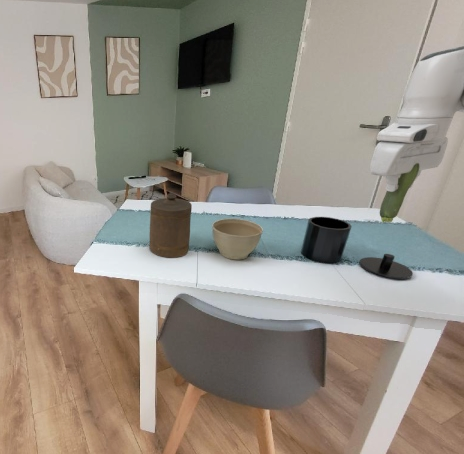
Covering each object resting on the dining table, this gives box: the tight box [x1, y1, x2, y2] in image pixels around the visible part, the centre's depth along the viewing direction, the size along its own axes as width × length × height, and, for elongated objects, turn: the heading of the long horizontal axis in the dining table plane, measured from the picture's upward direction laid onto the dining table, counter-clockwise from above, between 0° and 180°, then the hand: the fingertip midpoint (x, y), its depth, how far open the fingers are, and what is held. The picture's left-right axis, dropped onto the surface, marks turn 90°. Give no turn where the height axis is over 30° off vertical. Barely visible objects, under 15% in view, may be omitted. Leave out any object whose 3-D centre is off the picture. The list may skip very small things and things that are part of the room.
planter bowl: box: [211, 218, 264, 261], centre depth 104 cm, size 16×16×11 cm
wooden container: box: [149, 192, 193, 258], centre depth 108 cm, size 15×15×22 cm
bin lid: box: [358, 253, 414, 280], centre depth 91 cm, size 12×12×5 cm
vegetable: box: [379, 163, 419, 223], centre depth 71 cm, size 4×4×20 cm
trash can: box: [300, 216, 352, 265], centre depth 99 cm, size 11×11×12 cm
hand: (397, 189), depth 71 cm, fingers closed on vegetable, 4 cm apart
